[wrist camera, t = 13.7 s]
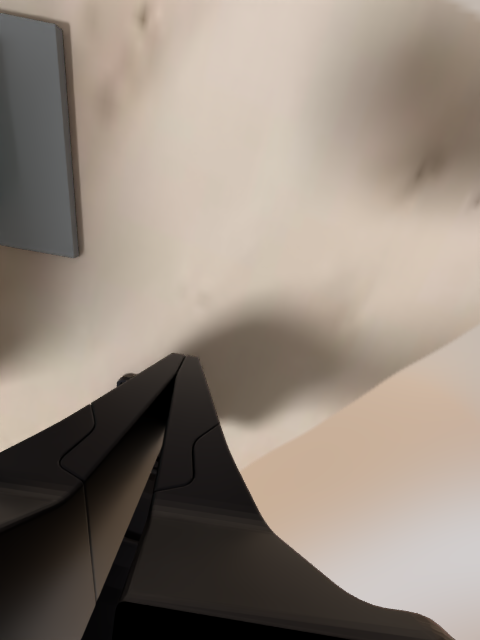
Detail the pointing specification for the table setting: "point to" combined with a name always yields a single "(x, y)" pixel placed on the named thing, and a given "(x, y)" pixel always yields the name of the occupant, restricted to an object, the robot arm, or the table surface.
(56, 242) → the mat
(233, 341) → the table surface
